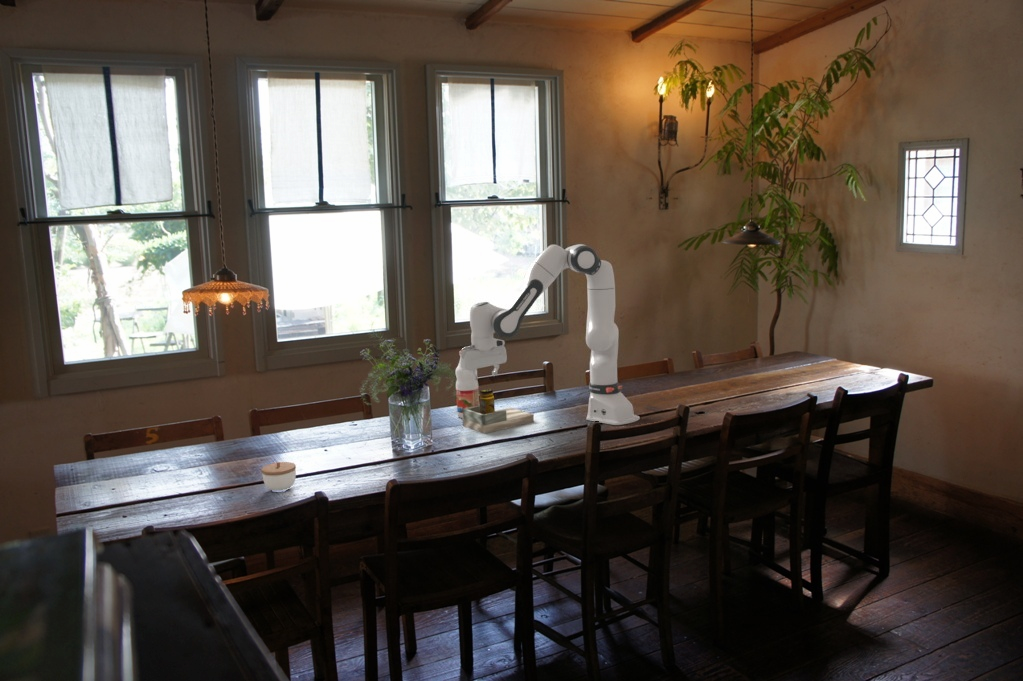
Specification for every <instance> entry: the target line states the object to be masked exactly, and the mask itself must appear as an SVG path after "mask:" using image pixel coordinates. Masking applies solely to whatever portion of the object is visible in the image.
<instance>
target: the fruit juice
mask: <svg viewBox="0 0 1023 681" xmlns="http://www.w3.org/2000/svg"><path fill="white" fill-rule="evenodd" d="M458 354H459V356H460V357H459V361H458V363H457V367H455V373H454V374H455V376H456V381H455V393H456V412H457V417H458V418H460V419H462V418H463V409H466V408H471V407H475V406H479V397H480V390H479V382H478V379H477V380H473V379H472V375H471V373H470V372H469V370H463V369H462V368H461V350H459V352H458ZM474 373H475V375H478V368H477V369H475V372H474Z"/></svg>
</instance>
